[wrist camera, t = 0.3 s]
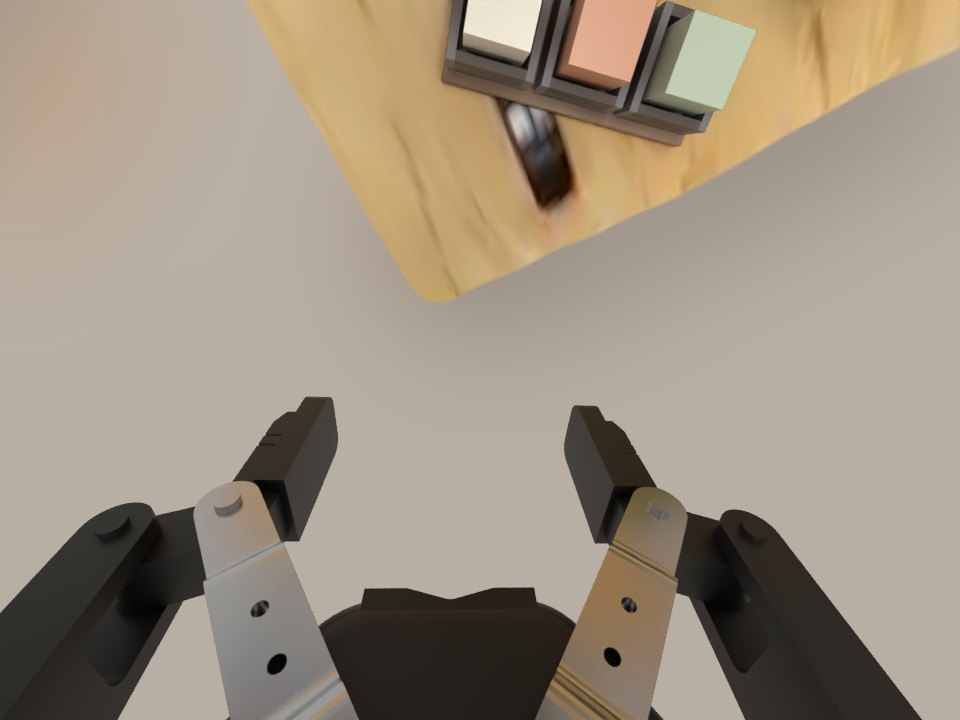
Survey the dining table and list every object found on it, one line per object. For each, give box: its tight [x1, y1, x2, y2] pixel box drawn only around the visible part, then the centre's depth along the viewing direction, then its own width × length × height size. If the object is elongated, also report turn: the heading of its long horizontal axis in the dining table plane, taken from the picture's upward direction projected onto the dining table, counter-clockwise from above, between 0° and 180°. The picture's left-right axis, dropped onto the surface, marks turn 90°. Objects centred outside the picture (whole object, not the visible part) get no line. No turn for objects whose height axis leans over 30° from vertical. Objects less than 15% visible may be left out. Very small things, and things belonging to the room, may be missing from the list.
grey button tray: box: [442, 0, 714, 147], centre depth 28 cm, size 8×21×4 cm, turn 78°
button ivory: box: [463, 0, 542, 66], centre depth 25 cm, size 4×4×4 cm
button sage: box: [641, 10, 757, 116], centre depth 27 cm, size 4×4×4 cm
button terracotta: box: [555, 0, 657, 92], centre depth 26 cm, size 4×4×4 cm
